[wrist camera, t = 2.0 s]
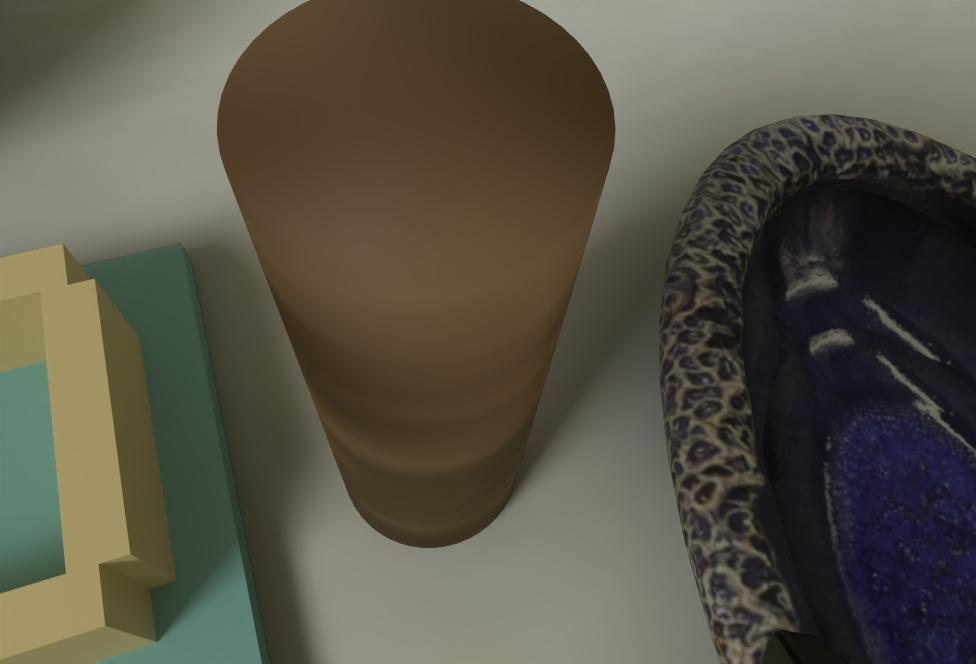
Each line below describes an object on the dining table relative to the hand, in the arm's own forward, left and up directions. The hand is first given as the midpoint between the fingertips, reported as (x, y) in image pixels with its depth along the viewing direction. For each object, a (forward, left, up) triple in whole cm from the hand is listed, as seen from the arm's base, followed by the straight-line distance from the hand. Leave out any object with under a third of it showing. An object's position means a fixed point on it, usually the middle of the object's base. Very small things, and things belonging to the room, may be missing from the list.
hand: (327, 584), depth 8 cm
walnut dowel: (+5, -2, -12) cm, 13 cm away
